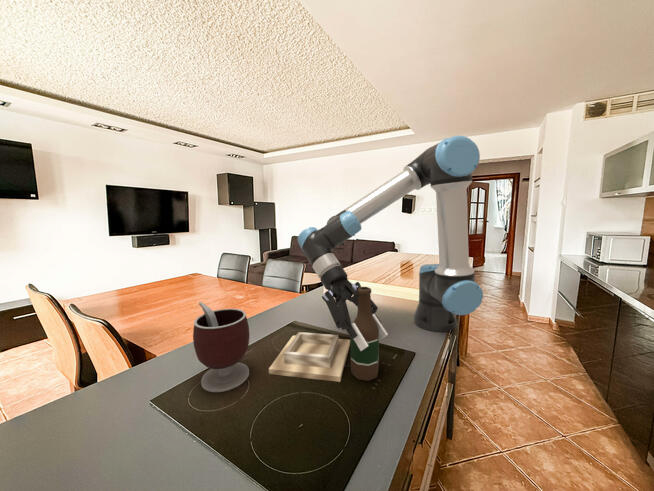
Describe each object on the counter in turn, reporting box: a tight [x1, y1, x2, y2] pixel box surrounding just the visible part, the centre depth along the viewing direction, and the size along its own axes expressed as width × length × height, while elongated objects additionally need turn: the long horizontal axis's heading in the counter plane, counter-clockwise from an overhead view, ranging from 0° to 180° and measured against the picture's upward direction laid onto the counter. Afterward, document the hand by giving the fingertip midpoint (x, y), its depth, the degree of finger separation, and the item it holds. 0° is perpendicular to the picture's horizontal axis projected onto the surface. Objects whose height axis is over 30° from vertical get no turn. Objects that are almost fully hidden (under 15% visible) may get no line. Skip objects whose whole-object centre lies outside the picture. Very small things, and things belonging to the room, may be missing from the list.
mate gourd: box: [192, 301, 250, 393], centre depth 72 cm, size 16×14×20 cm
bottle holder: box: [268, 331, 351, 383], centre depth 81 cm, size 20×20×4 cm
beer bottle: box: [349, 286, 380, 382], centre depth 72 cm, size 8×8×24 cm
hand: (374, 342), depth 69 cm, fingers closed on beer bottle, 7 cm apart
